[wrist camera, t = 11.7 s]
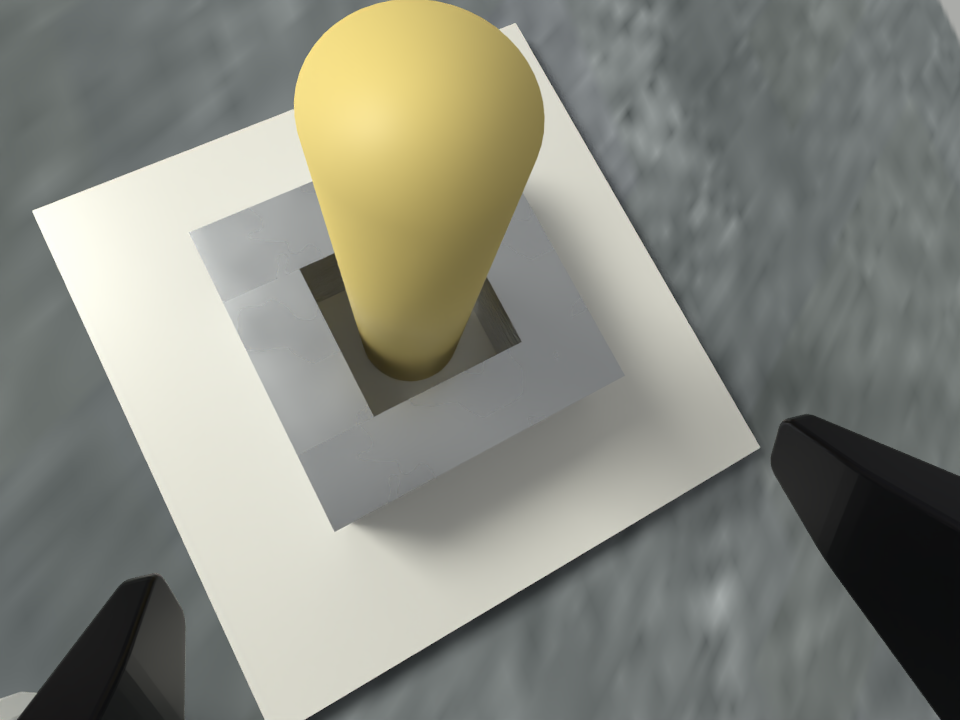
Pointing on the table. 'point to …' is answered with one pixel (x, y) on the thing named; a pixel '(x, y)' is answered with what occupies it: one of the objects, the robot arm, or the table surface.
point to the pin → (416, 167)
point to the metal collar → (429, 415)
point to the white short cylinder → (14, 705)
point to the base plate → (428, 508)
